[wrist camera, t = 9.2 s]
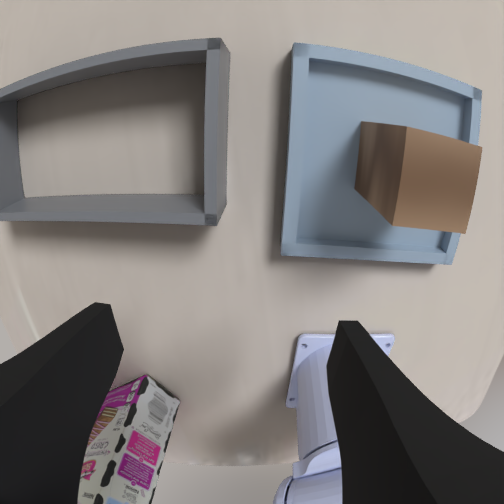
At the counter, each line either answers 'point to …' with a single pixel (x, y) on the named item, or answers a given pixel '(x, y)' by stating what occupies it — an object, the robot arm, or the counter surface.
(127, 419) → the candy bar box
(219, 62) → the gray rectangular bin
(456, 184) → the walnut block
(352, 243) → the light blue tray
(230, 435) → the counter surface
